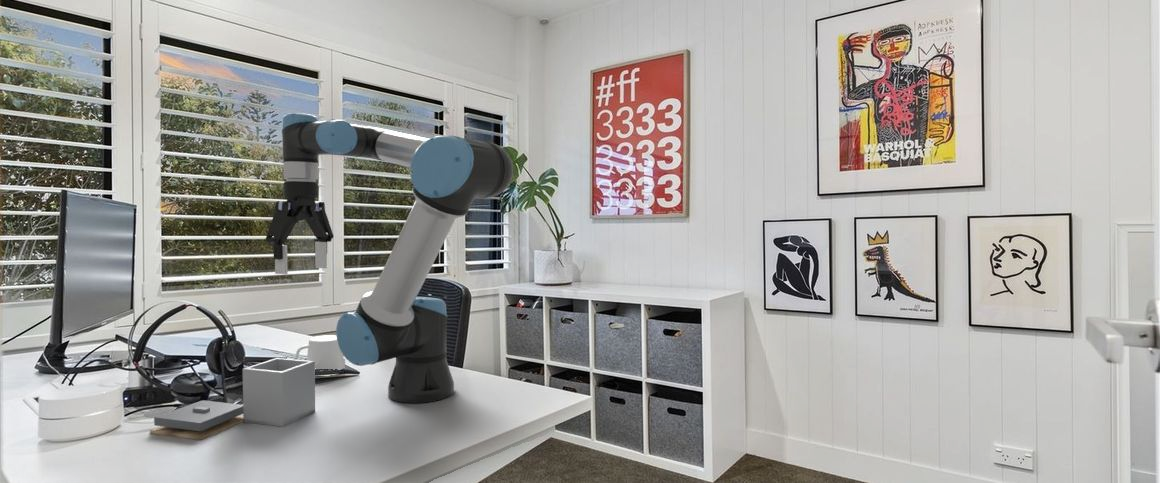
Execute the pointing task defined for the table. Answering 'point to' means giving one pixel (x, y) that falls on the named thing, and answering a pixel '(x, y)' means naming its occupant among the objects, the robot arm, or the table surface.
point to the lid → (199, 415)
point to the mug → (324, 352)
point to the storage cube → (278, 391)
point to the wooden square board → (197, 434)
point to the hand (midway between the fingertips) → (302, 271)
